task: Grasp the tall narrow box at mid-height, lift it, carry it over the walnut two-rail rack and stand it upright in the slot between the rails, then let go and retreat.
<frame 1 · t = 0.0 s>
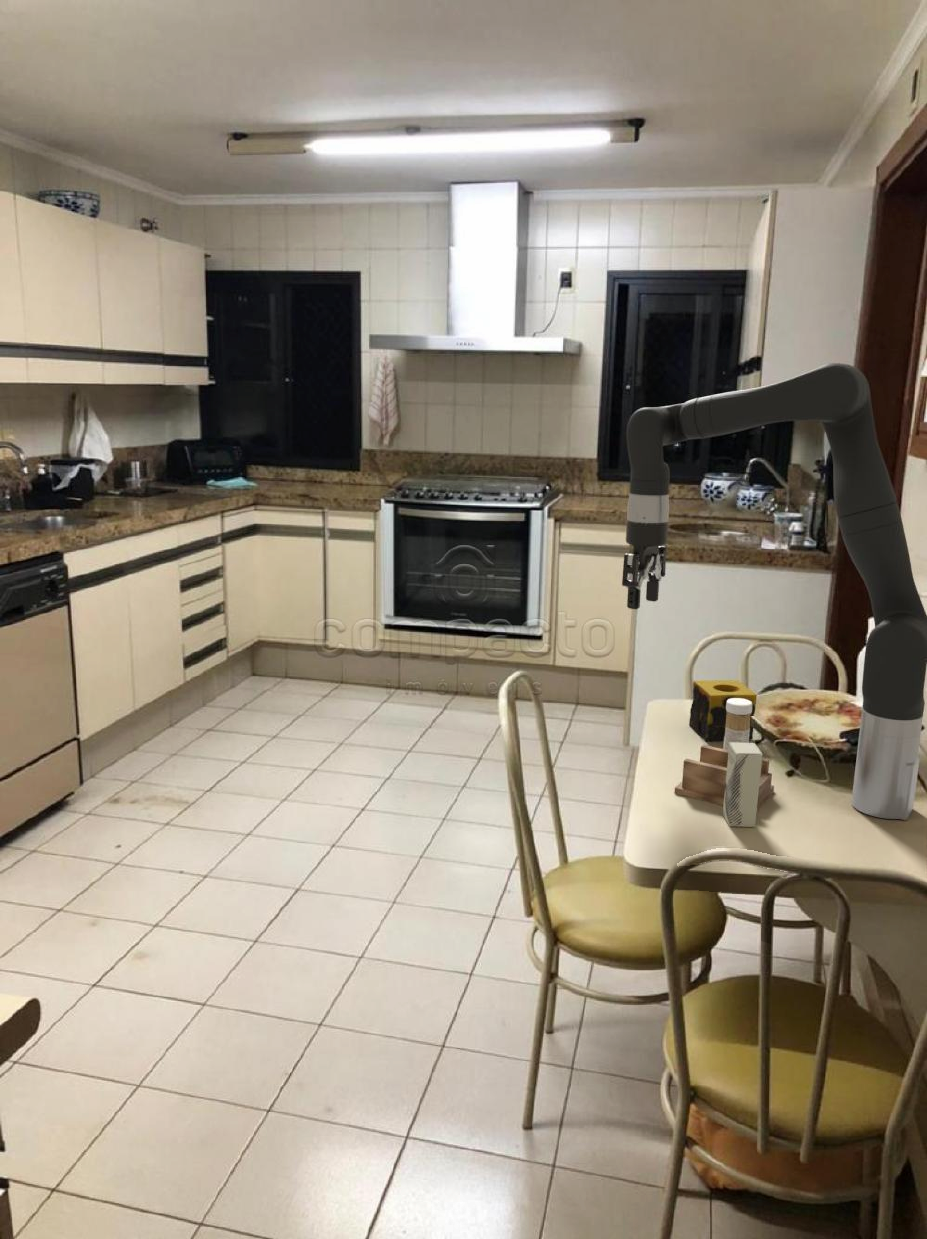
hand: (642, 604, 180), 29 cm above the table, fingers open, 8 cm apart
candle: (720, 734, 198), on the table
sprinkles bottle: (733, 771, 178), on the table
rack: (724, 792, 168), on the table
box: (739, 822, 157), on the table
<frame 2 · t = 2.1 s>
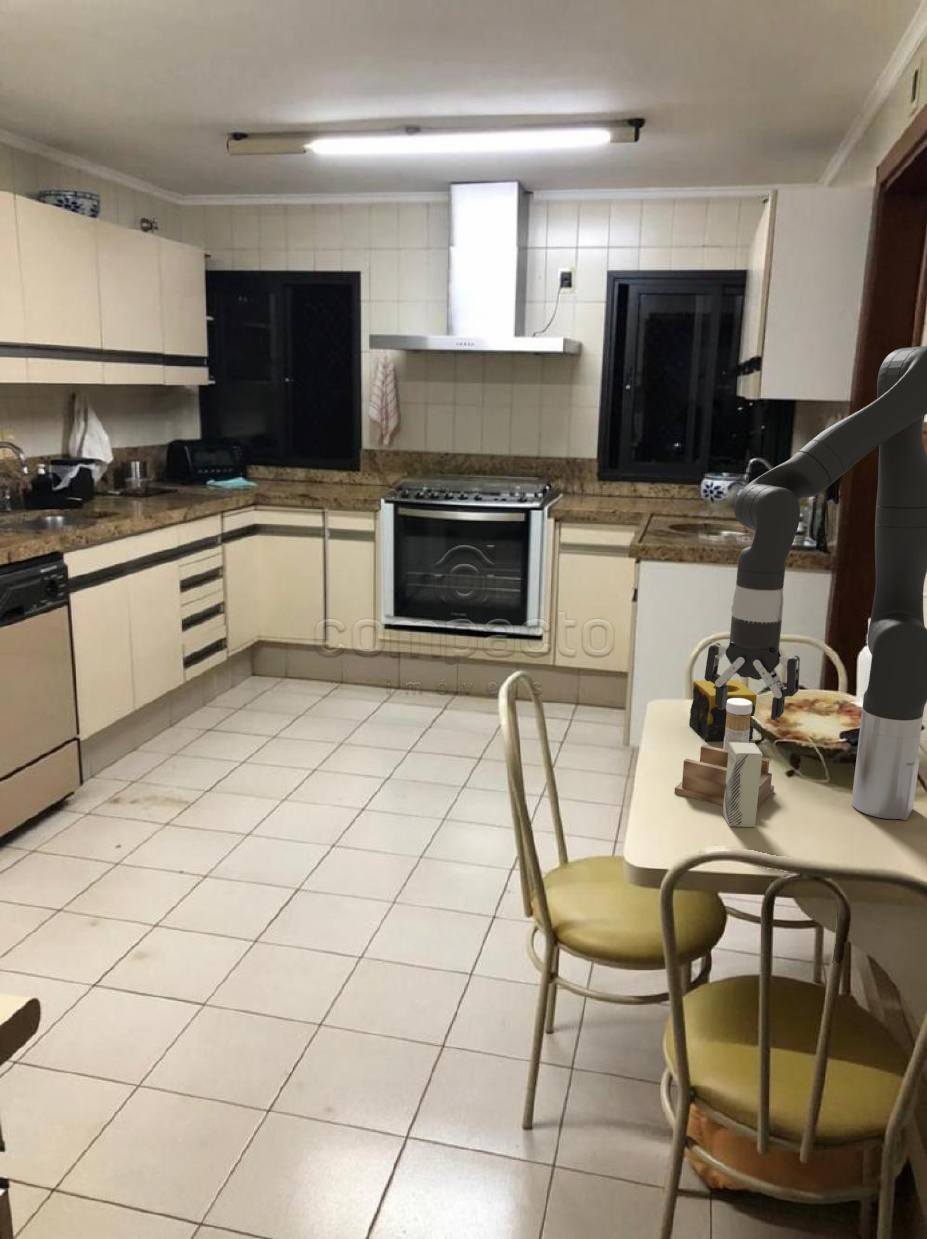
hand: (747, 713, 153), 18 cm above the table, fingers open, 8 cm apart
nothing on the table moved.
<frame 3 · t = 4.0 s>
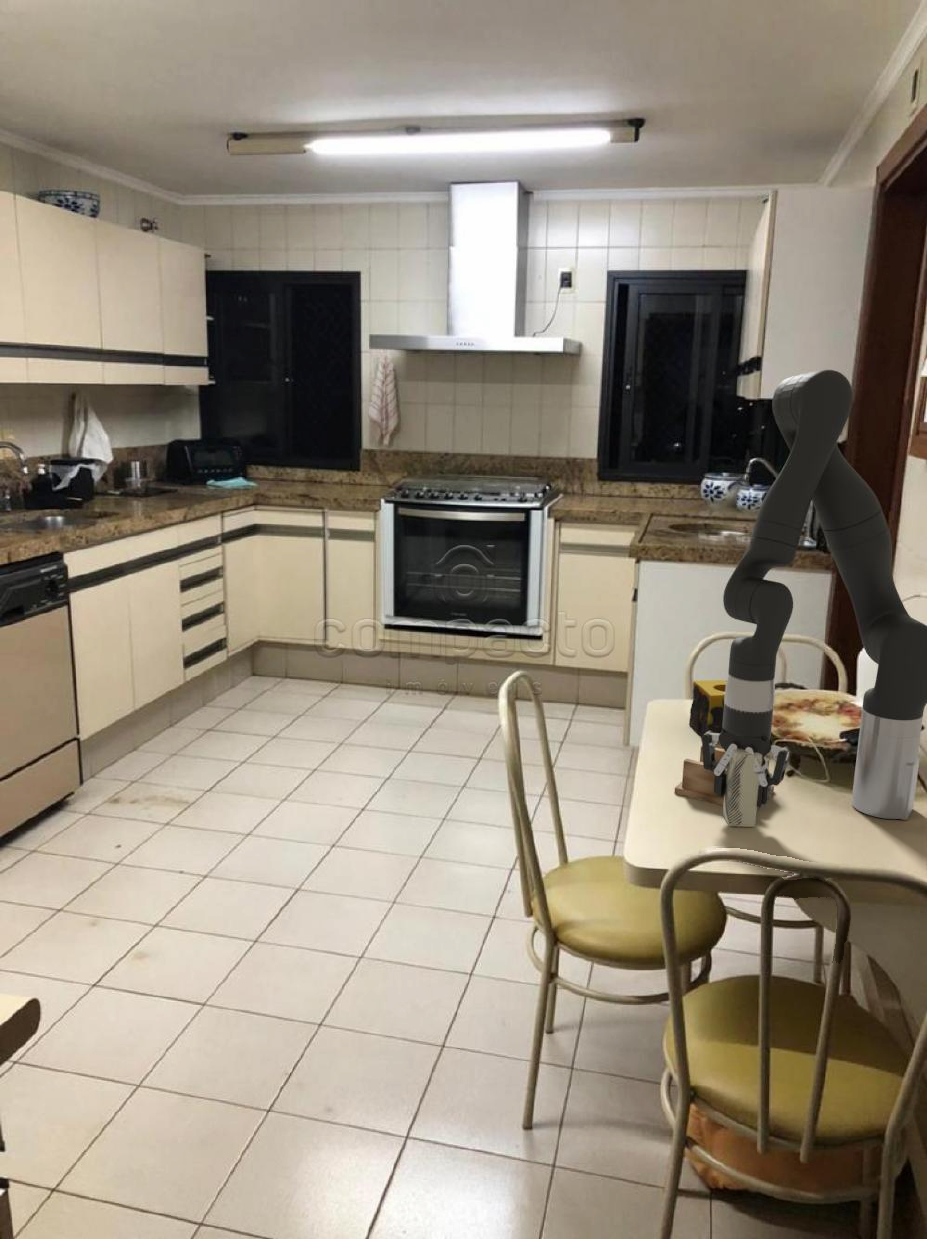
hand: (740, 800, 156), 4 cm above the table, fingers closed on box, 6 cm apart
box: (739, 822, 157), on the table, touching gripper
everything else where it was.
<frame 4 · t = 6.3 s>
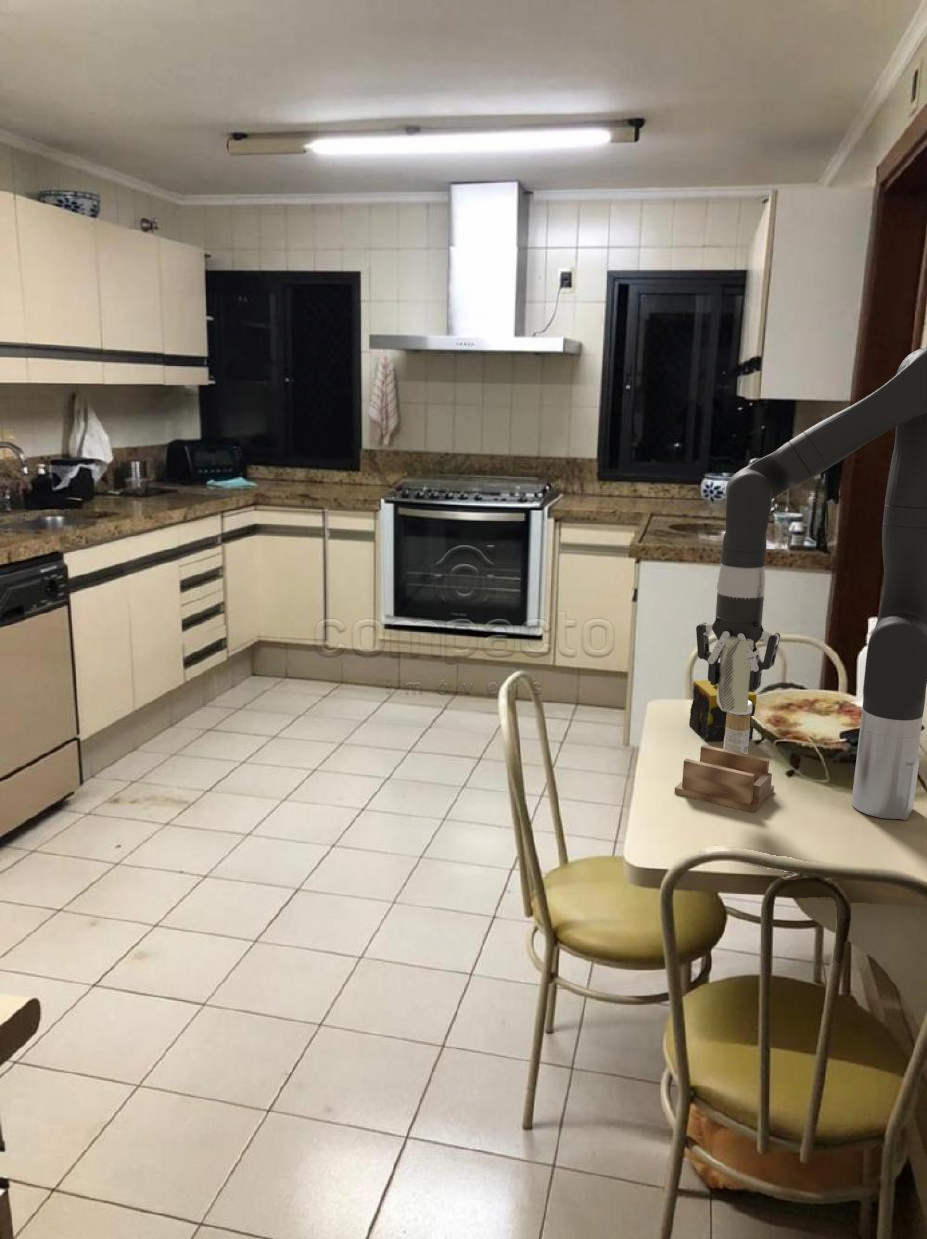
hand: (733, 687, 164), 19 cm above the table, fingers closed on box, 6 cm apart
box: (731, 709, 165), point 15 cm above the table, touching gripper
everything else where it was.
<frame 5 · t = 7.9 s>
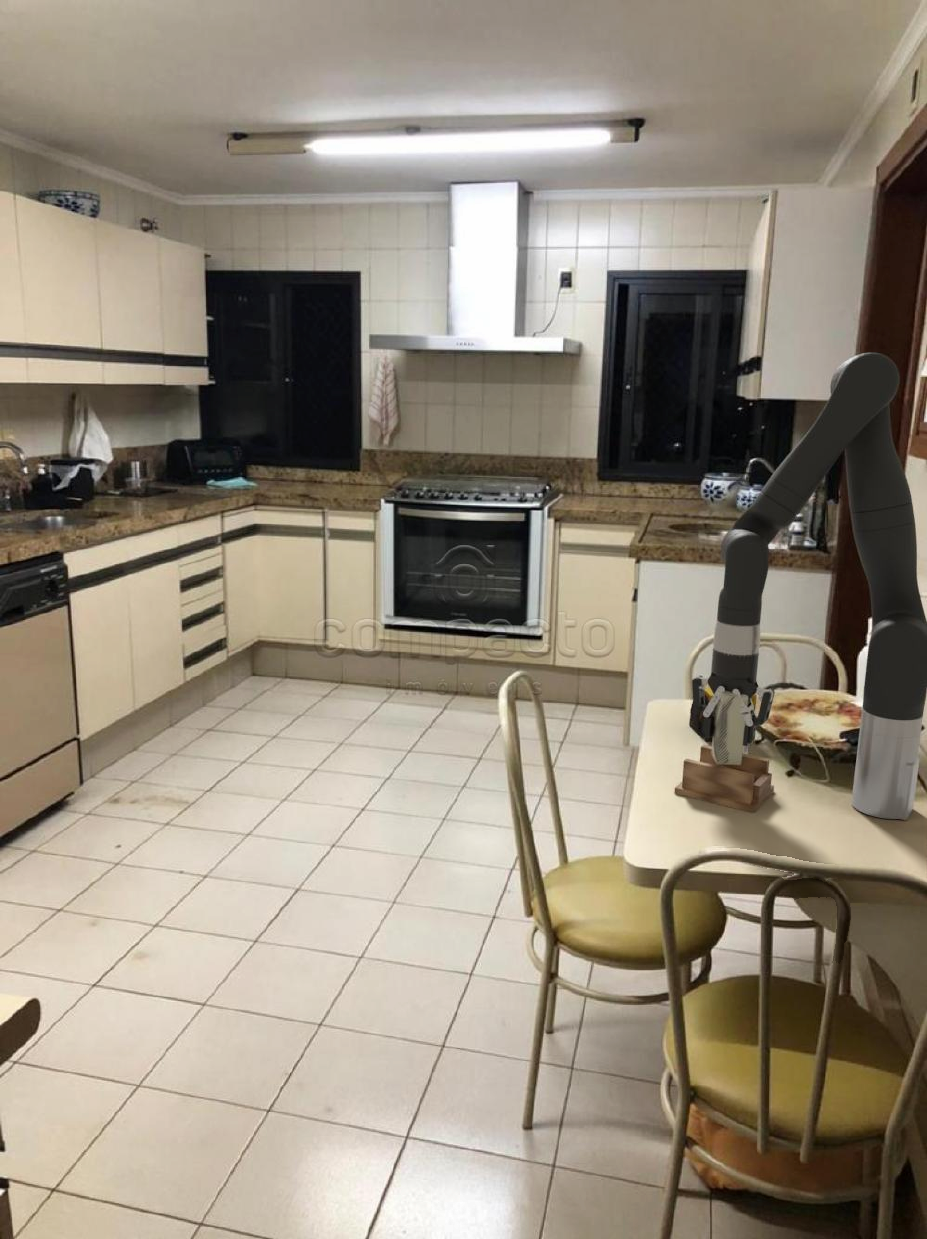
hand: (727, 740, 166), 10 cm above the table, fingers closed on box, 6 cm apart
box: (726, 761, 167), point 6 cm above the table, touching gripper
everything else where it was.
when the fingers open (7 cm above the table, at t = 9.1 s): box drops 2 cm, resting on rack.
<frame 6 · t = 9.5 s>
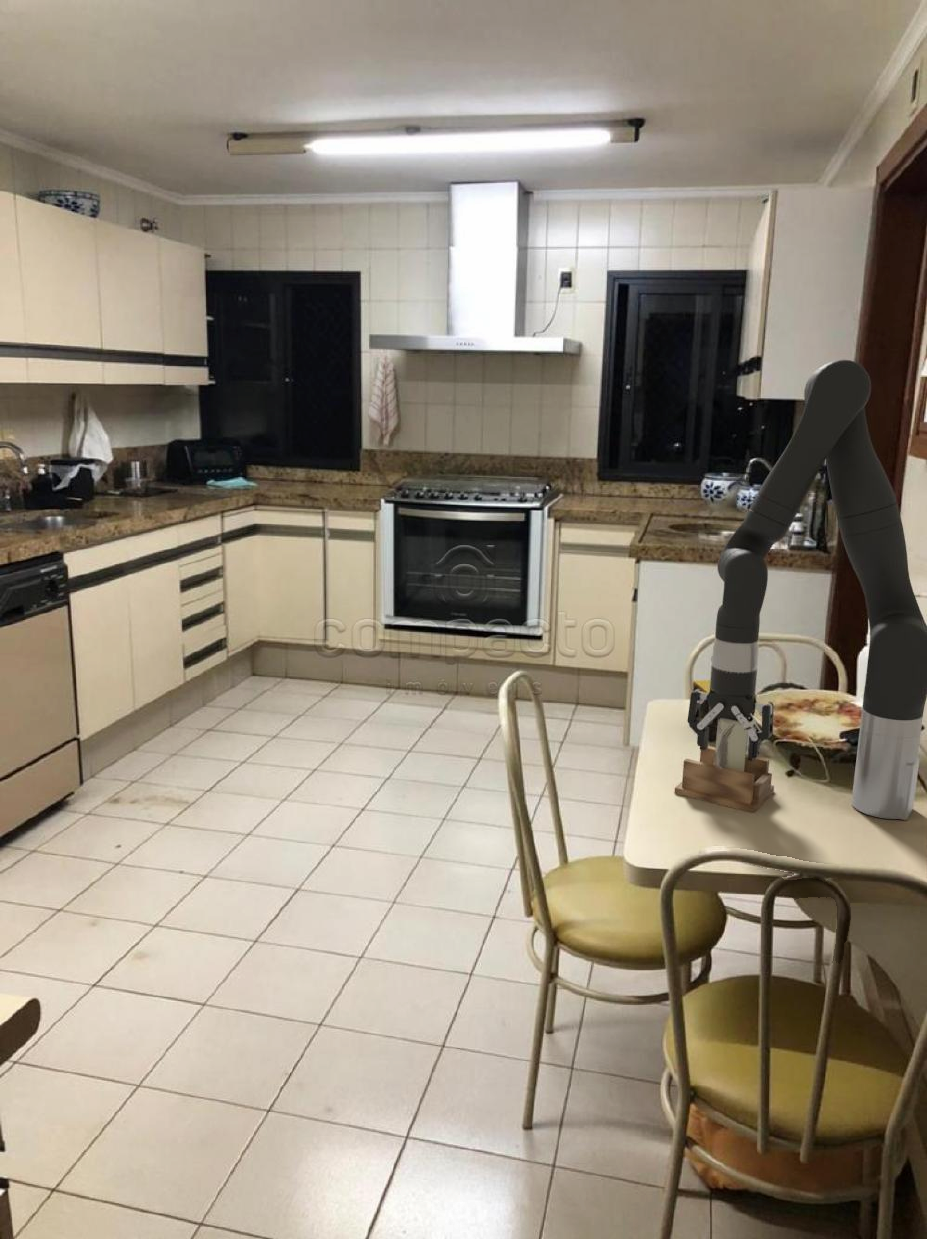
hand: (727, 754, 167), 7 cm above the table, fingers open, 8 cm apart
box: (727, 788, 168), point 1 cm above the table, touching rack
everything else where it was.
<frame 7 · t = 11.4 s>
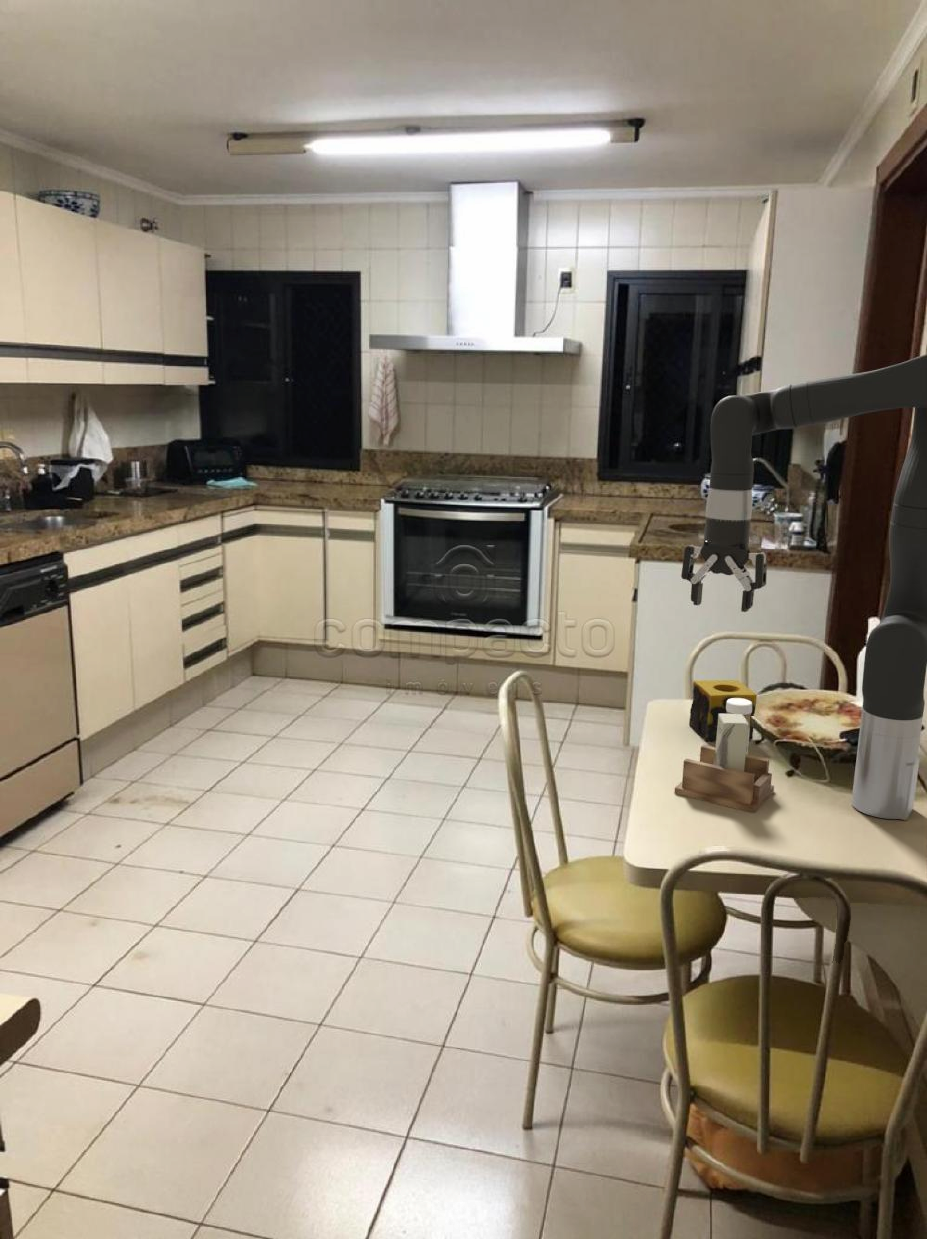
hand: (720, 607, 168), 32 cm above the table, fingers open, 8 cm apart
nothing on the table moved.
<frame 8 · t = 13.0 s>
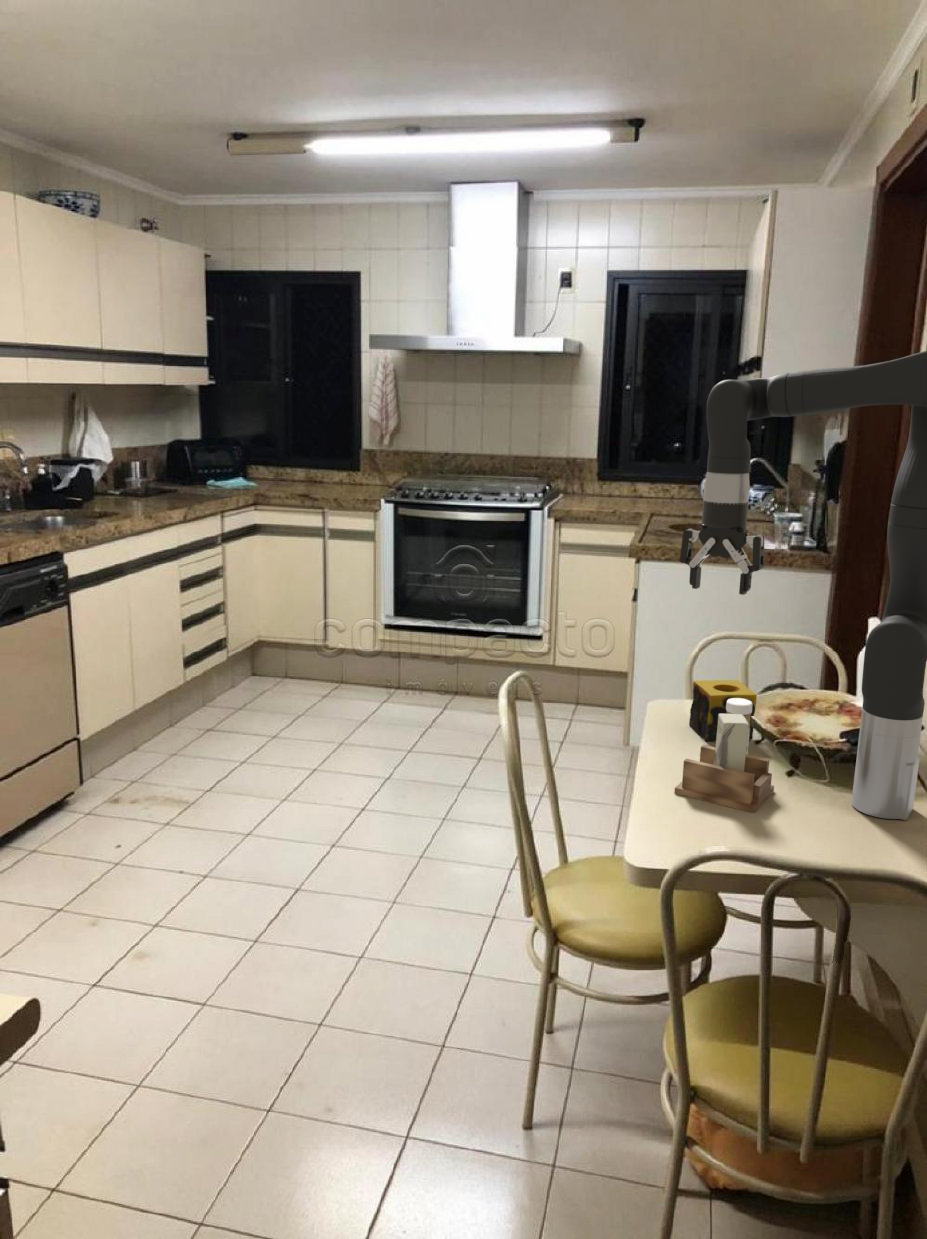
hand: (719, 590, 169), 34 cm above the table, fingers open, 8 cm apart
nothing on the table moved.
at the end: box inside the target area on the rack (0.5 cm from its centre), point 0.8 cm above the rack's base; box tilted 0°; the gripper is holding nothing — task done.
